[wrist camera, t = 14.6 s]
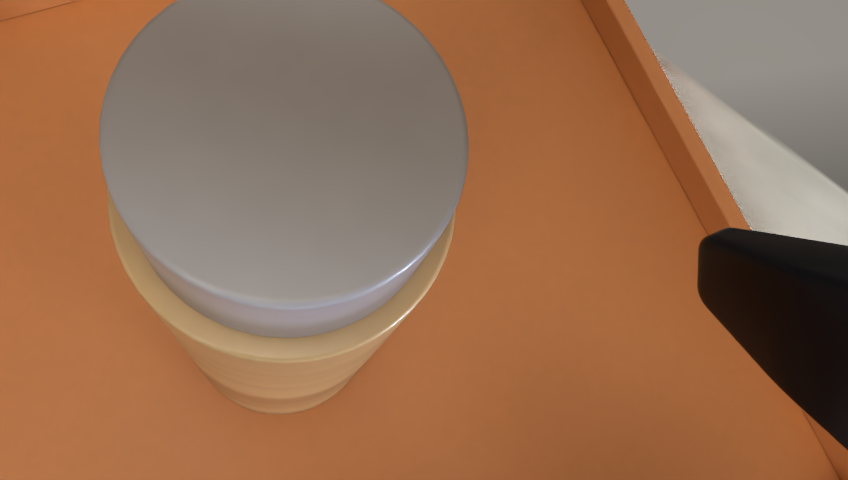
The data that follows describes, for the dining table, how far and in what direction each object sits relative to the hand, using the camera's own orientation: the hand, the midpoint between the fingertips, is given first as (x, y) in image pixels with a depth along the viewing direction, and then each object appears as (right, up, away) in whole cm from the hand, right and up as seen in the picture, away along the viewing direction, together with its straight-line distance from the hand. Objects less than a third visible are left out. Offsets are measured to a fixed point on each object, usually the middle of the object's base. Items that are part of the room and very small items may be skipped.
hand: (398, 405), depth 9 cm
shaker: (-4, 0, +12) cm, 12 cm away
